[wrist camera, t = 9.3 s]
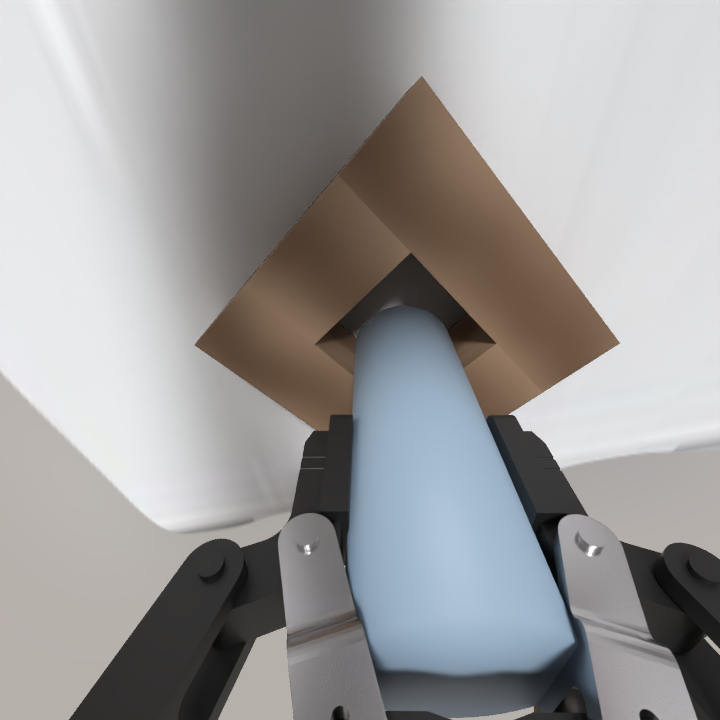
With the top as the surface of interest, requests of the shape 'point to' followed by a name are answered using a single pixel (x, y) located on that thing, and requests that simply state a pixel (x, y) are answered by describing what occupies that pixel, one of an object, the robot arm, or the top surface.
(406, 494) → the peg
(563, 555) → the robot arm
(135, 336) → the top surface
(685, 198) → the top surface
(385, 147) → the socket block
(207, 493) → the top surface
